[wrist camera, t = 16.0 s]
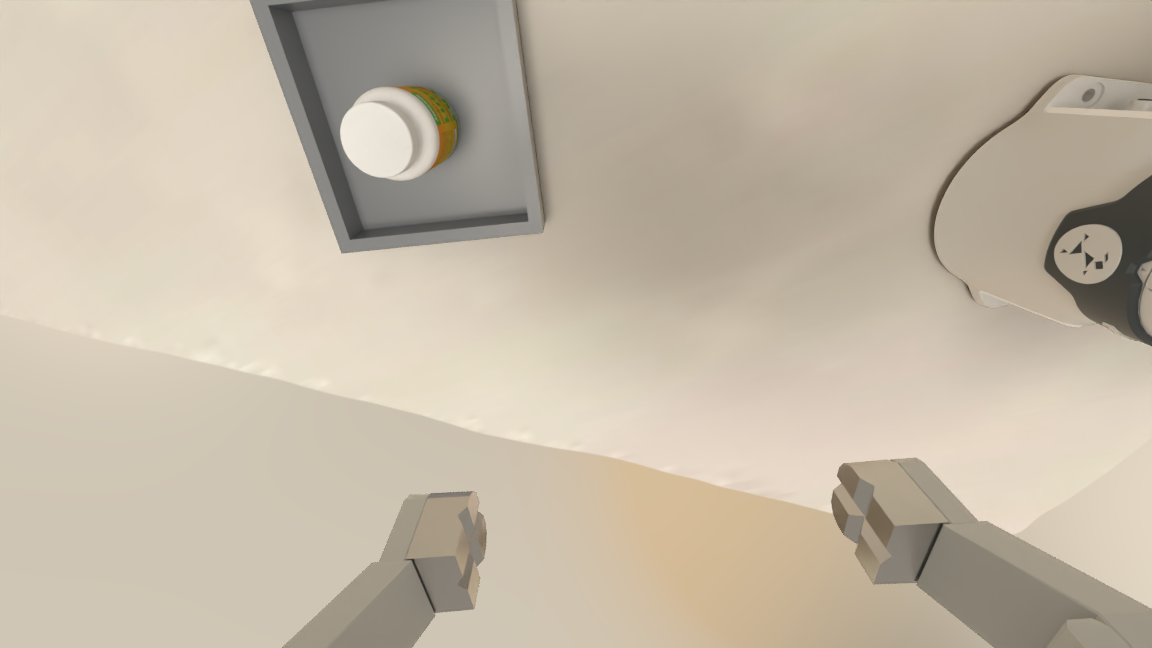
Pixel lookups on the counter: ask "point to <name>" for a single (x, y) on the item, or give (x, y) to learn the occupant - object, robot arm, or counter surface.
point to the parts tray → (424, 59)
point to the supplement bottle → (399, 132)
